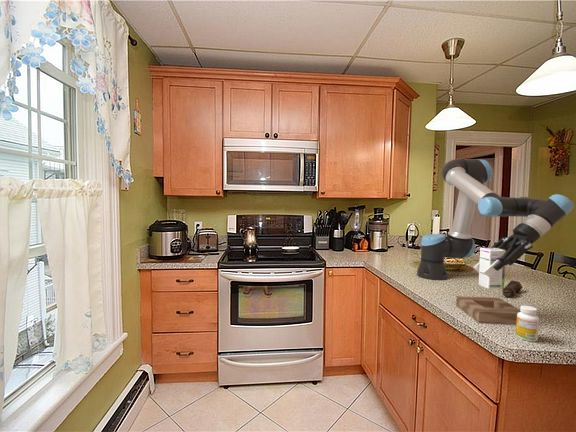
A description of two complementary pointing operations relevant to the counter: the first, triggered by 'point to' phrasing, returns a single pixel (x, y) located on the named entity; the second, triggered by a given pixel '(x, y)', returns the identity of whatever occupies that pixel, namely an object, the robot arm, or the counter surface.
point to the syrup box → (486, 260)
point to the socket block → (488, 309)
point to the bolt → (512, 288)
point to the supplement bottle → (527, 324)
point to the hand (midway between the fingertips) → (481, 272)
